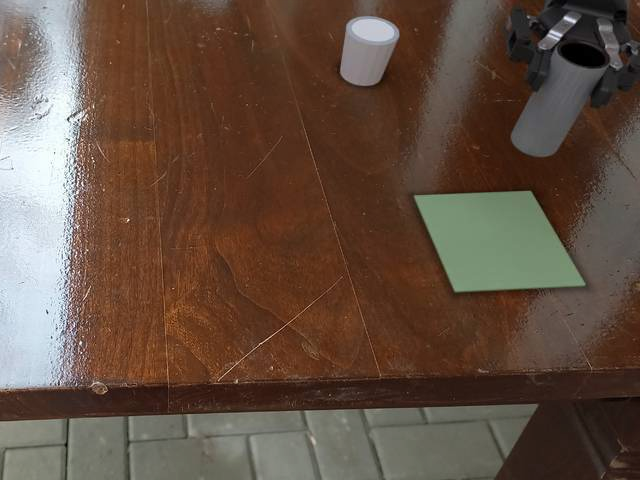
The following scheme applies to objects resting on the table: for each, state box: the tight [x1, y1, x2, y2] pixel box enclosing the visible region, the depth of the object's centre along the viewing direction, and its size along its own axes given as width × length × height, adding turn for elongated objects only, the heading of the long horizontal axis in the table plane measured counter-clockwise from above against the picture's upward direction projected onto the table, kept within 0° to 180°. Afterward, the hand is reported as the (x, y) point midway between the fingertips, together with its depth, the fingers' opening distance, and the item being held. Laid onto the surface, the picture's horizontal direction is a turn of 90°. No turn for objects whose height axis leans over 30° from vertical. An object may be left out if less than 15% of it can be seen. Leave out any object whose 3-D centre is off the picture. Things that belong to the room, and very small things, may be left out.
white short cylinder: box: [339, 15, 400, 87], centre depth 93 cm, size 7×7×7 cm
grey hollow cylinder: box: [510, 39, 611, 158], centre depth 65 cm, size 4×4×10 cm
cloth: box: [413, 190, 586, 294], centre depth 76 cm, size 14×14×1 cm
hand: (568, 91), depth 61 cm, fingers closed on grey hollow cylinder, 4 cm apart
